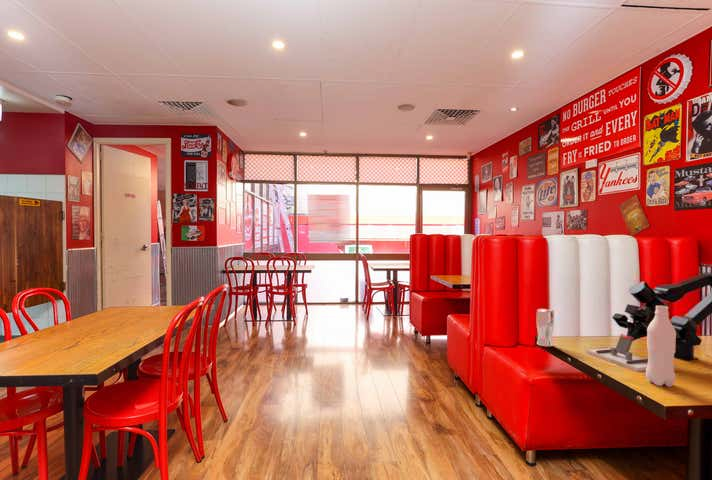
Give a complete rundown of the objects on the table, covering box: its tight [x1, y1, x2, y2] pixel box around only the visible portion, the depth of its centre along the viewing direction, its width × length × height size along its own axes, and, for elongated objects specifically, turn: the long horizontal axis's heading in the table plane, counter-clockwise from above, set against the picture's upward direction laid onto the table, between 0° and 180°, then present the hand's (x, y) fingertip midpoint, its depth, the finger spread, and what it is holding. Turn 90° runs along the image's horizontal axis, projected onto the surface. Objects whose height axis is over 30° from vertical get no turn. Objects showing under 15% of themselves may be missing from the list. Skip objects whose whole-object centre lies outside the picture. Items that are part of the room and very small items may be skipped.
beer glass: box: [535, 308, 555, 348], centre depth 155 cm, size 7×7×15 cm
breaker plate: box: [586, 347, 648, 372], centre depth 137 cm, size 12×20×4 cm, turn 15°
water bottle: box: [645, 305, 676, 388], centre depth 115 cm, size 7×7×25 cm
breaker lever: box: [615, 333, 635, 355], centre depth 137 cm, size 2×4×7 cm, turn 15°
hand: (627, 341), depth 137 cm, fingers closed, pressing on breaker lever
